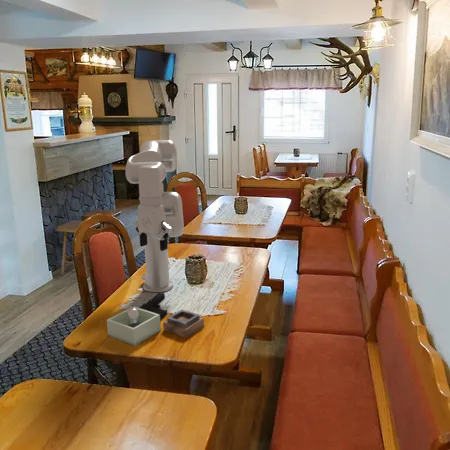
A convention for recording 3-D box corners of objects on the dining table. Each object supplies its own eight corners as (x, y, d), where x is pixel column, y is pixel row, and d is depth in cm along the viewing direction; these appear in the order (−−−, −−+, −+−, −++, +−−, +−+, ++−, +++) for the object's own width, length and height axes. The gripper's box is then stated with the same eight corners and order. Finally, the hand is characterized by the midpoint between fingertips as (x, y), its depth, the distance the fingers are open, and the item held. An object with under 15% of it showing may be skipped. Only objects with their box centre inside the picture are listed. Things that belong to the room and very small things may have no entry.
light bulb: (128, 334, 158) (125, 313, 156) (129, 327, 162) (126, 307, 160) (141, 332, 159) (138, 311, 156) (142, 326, 163) (139, 305, 160)
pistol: (182, 294, 186) (157, 290, 190) (159, 314, 168) (131, 309, 171) (182, 302, 187) (157, 298, 190) (159, 323, 169) (131, 318, 172)
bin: (108, 335, 159) (106, 319, 157) (134, 321, 169) (133, 306, 167) (134, 346, 152) (133, 329, 150) (160, 330, 162) (159, 314, 160)
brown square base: (163, 330, 162) (163, 318, 161) (182, 319, 170) (181, 307, 169) (186, 337, 157) (185, 325, 155) (204, 326, 164) (203, 314, 163)
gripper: (125, 200, 164) (129, 246, 169) (162, 205, 155) (164, 254, 159) (140, 196, 170) (143, 241, 175) (176, 201, 161) (179, 248, 165)
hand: (153, 247), depth 167 cm, fingers open, 9 cm apart
